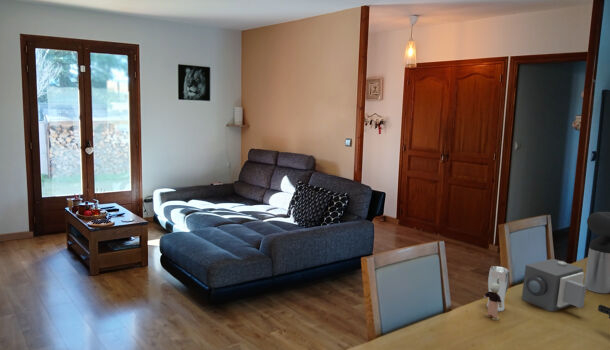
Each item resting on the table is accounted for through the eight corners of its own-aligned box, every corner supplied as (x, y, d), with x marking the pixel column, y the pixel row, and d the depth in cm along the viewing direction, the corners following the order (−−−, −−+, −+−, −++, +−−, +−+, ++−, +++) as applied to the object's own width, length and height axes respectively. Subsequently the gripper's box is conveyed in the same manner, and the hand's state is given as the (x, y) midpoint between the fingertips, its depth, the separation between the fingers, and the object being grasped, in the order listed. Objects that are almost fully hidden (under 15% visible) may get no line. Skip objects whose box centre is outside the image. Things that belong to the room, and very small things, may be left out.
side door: (577, 299, 174) (581, 272, 172) (597, 306, 168) (601, 278, 166) (556, 306, 167) (560, 277, 165) (576, 314, 161) (580, 284, 159)
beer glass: (505, 306, 170) (510, 268, 167) (505, 313, 164) (510, 274, 161) (486, 302, 173) (490, 264, 170) (484, 309, 166) (489, 270, 164)
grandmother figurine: (504, 319, 159) (508, 285, 157) (498, 322, 156) (502, 287, 154) (484, 311, 165) (488, 278, 163) (478, 313, 162) (482, 280, 160)
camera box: (548, 291, 186) (553, 256, 184) (579, 302, 176) (584, 266, 173) (517, 300, 175) (521, 263, 173) (547, 313, 165) (552, 274, 163)
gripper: (673, 309, 144) (617, 291, 158) (652, 319, 137) (595, 298, 151) (669, 331, 146) (614, 311, 159) (648, 342, 138) (592, 319, 152)
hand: (605, 305), depth 155 cm, fingers open, 8 cm apart
